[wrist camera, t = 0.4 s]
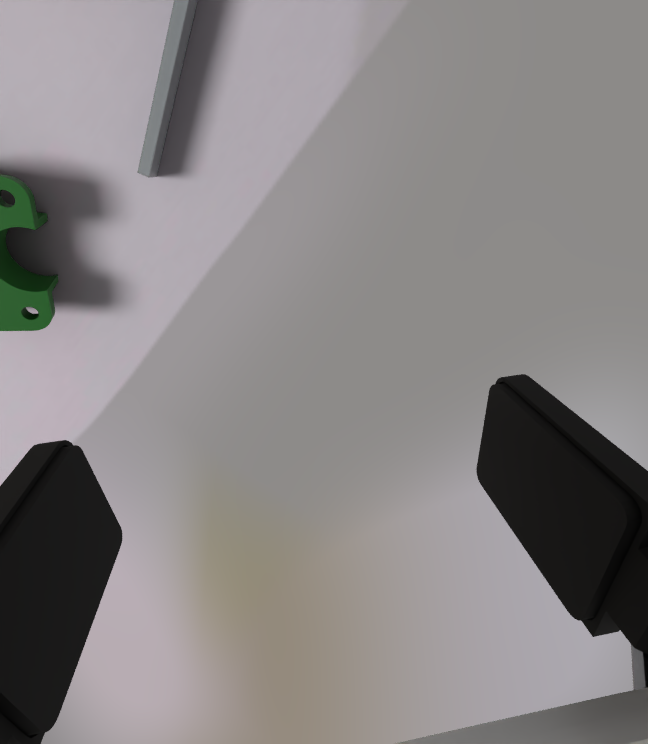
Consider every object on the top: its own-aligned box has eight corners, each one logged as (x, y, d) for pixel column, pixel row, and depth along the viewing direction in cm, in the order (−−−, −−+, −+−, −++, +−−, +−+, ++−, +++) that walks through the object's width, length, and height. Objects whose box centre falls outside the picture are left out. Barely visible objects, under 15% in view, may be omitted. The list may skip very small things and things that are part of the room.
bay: (156, 176, 31) (133, 179, 25) (-119, 54, 25) (-228, 23, 20) (201, -17, 26) (185, -68, 20) (-128, -220, 20) (-276, -366, 15)
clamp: (68, 276, 37) (59, 344, 32) (-9, 273, 35) (-31, 347, 30) (34, 148, 29) (15, 214, 24) (-72, 132, 26) (-118, 202, 21)
